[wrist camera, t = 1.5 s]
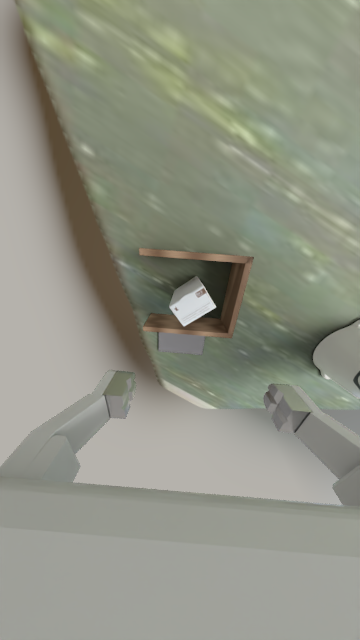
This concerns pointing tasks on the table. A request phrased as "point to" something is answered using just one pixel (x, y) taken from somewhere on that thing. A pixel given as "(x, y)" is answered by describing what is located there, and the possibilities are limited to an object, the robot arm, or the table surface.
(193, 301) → the skincare box
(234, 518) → the robot arm
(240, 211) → the table surface
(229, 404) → the table surface
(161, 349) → the charcoal mat
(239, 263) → the walnut u-shaped frame
